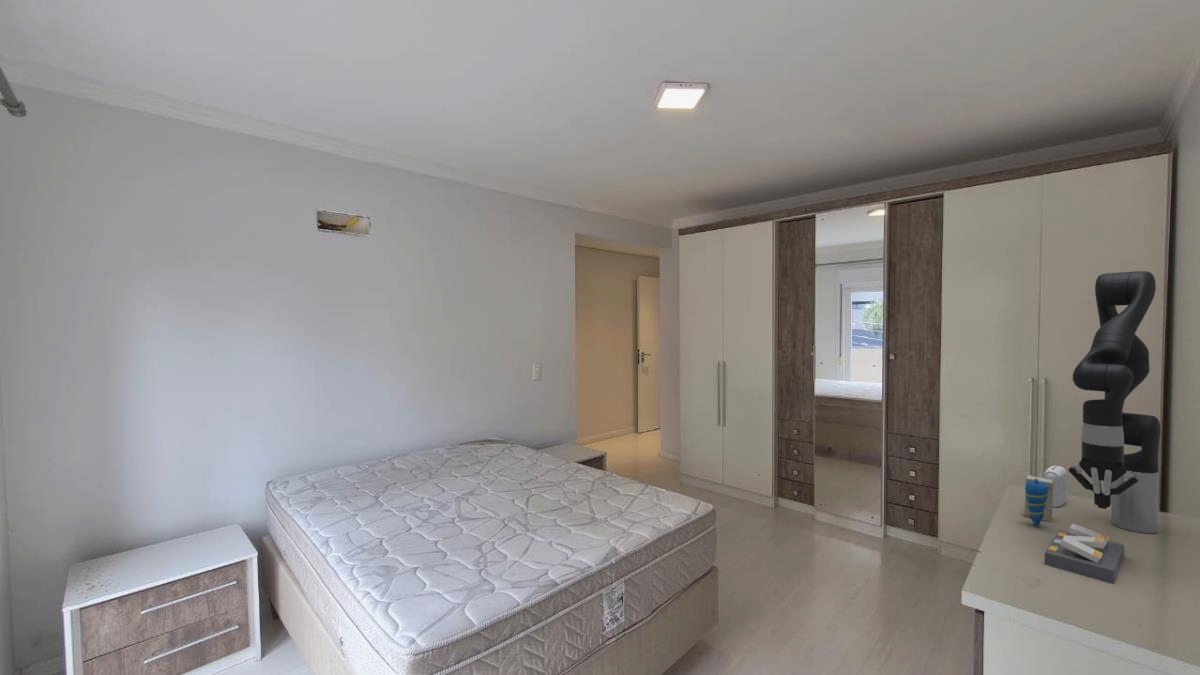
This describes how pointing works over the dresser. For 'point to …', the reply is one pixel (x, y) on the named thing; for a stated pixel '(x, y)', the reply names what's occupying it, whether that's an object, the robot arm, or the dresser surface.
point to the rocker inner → (1085, 532)
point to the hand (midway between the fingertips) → (1102, 507)
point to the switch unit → (1085, 559)
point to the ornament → (1036, 499)
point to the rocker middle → (1090, 541)
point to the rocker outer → (1081, 549)
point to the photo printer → (1058, 484)
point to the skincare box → (1049, 501)
